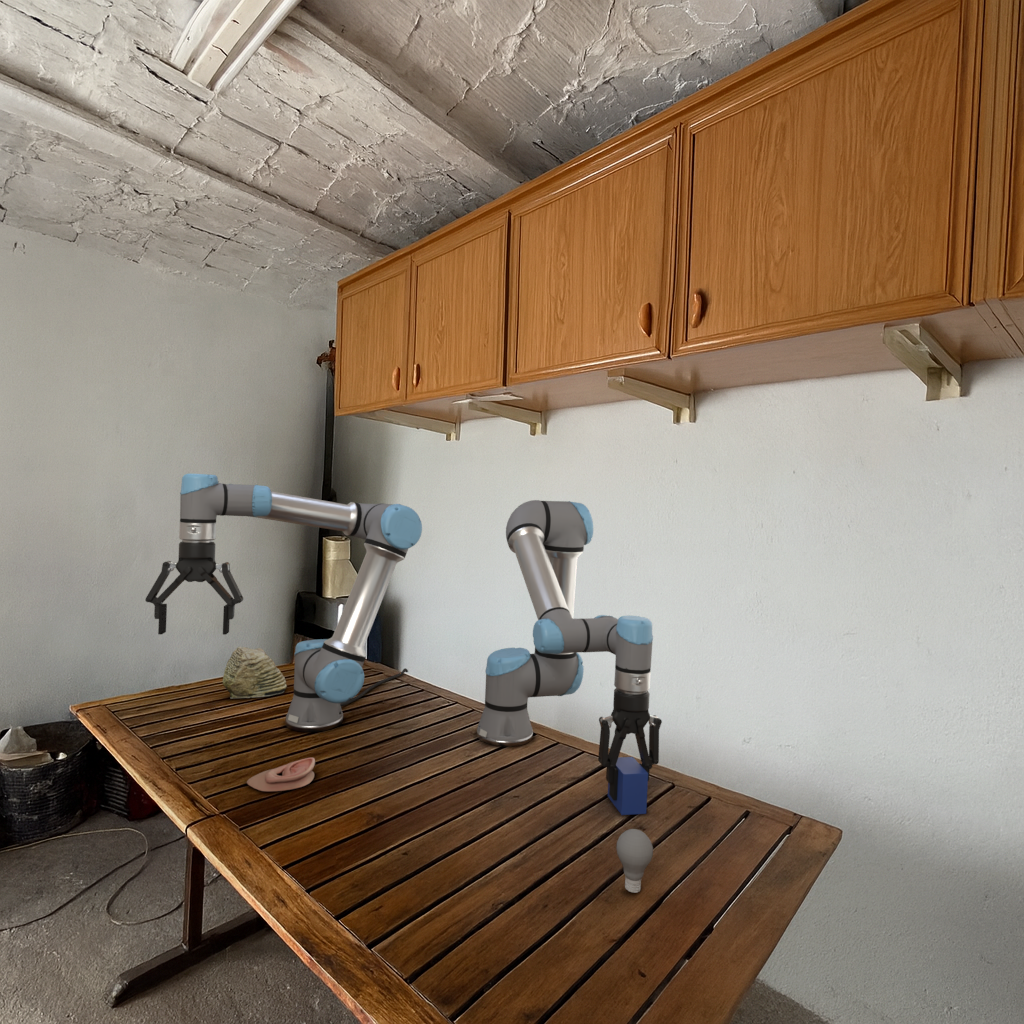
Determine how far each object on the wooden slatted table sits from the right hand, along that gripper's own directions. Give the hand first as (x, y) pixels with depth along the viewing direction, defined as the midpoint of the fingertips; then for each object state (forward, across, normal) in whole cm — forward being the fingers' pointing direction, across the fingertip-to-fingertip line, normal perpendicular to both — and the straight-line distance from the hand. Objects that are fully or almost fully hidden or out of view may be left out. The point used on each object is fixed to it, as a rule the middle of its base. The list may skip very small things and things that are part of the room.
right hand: (626, 796), depth 136 cm
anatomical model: (+2, -74, +19) cm, 76 cm away
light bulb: (+2, -10, -29) cm, 31 cm away
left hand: (-29, -95, +29) cm, 104 cm away
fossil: (+2, -91, +81) cm, 122 cm away
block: (+2, 0, 0) cm, 2 cm away
